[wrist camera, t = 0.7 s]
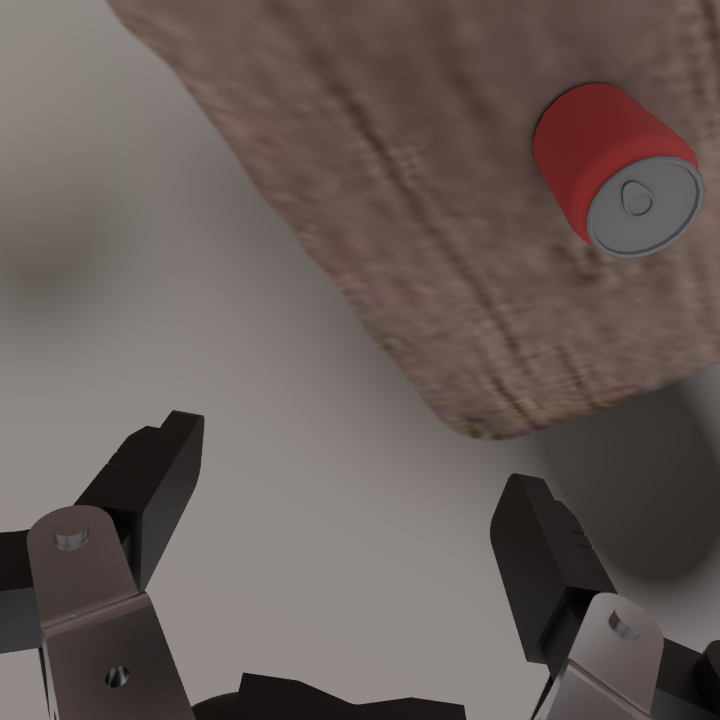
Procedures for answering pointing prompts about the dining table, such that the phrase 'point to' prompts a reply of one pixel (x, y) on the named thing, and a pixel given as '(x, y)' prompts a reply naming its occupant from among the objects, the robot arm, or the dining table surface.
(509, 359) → the dining table surface
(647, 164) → the beer can
